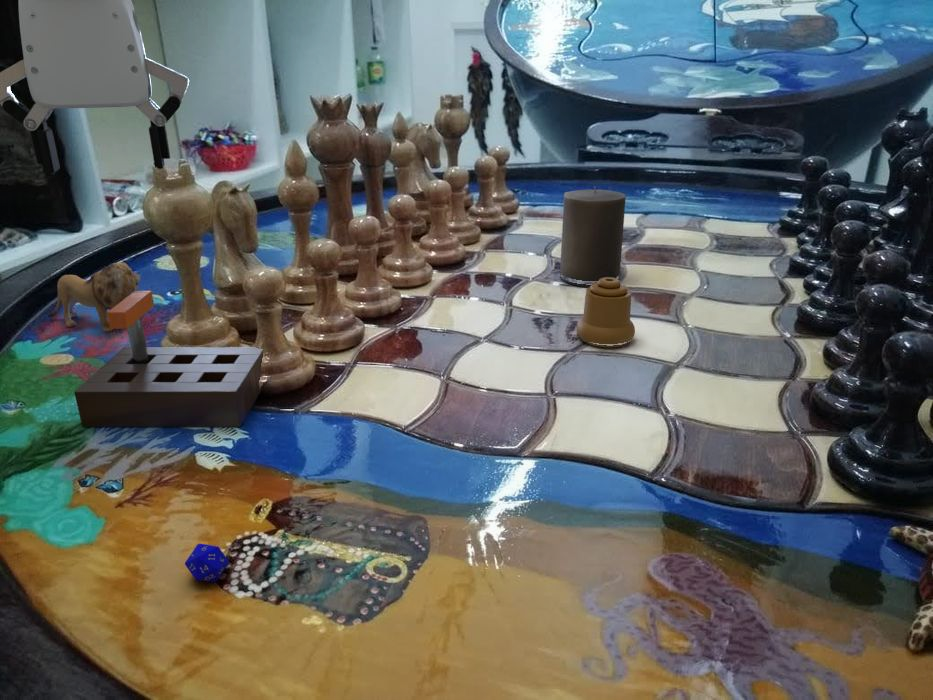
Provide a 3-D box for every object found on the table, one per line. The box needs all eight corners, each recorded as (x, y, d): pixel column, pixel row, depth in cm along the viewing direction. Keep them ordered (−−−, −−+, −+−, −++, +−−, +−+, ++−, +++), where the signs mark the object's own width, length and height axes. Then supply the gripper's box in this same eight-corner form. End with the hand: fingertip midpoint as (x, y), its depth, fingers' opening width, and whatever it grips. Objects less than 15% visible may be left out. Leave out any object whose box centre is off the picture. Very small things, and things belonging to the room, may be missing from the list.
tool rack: (240, 427, 74) (235, 391, 72) (82, 427, 74) (73, 391, 72) (268, 378, 84) (264, 346, 83) (129, 379, 84) (123, 347, 83)
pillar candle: (614, 290, 114) (622, 194, 108) (553, 284, 117) (557, 189, 111) (623, 273, 123) (631, 182, 117) (565, 267, 125) (570, 179, 120)
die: (237, 576, 54) (219, 566, 51) (203, 593, 53) (184, 583, 51) (227, 543, 55) (210, 531, 52) (195, 559, 55) (176, 548, 52)
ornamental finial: (633, 330, 98) (634, 351, 92) (578, 326, 100) (574, 347, 93) (639, 273, 95) (640, 290, 89) (581, 269, 97) (577, 287, 90)
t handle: (125, 406, 78) (106, 312, 74) (151, 378, 84) (135, 290, 80) (142, 406, 78) (124, 312, 74) (167, 378, 84) (151, 290, 80)
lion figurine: (154, 321, 102) (143, 258, 98) (131, 335, 97) (118, 269, 93) (60, 314, 104) (46, 252, 101) (33, 327, 99) (17, 263, 96)
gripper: (175, -21, 71) (201, 159, 78) (-28, -25, 66) (17, 168, 73) (172, -27, 64) (200, 170, 71) (-55, -32, 60) (-2, 180, 66)
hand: (107, 169), depth 72 cm, fingers open, 9 cm apart
